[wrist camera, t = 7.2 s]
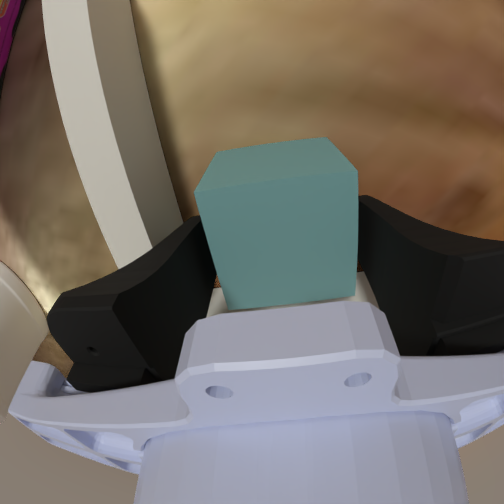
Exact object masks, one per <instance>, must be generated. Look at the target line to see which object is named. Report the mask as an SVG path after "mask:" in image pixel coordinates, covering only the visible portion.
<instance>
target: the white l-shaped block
mask: <svg viewBox="0 0 504 504" xmlns="http://www.w3.org/2000/svg"><path fill="white" fill-rule="evenodd" d="M42 10H43V20H44V29H45V37H46V44H47V50H48V57H49V62H50V68H51V73H52V78H53V83H54V87H55V92H56V96H57V100H58V104H59V108H60V112H61V116H62V120H63V124H64V127H65V131H66V134H67V138H68V141H69V144H70V148H71V151H72V154H73V157H74V160H75V163H76V166H77V169H78V172H79V175H80V178H81V180H82V183H83V186H84V189H85V191H86V194H87V197H88V199H89V202H90V205H91V207H92V210H93V212H94V215H95V217H96V220H97V222H98V224H99V227H100V229H101V231H102V234H103V236H104V238H105V241H106V243H107V245H108V247H109V250H110V252H111V254H112V256H113V258H114V260H115V263H116V265H117V267H118V269H120V268H122V267H124V266H126V265H128V264H129V263H131V262H133V261H134V260H136V259H137V258H139V257H140V256H142V255H143V254H145V253H146V252H148V251H149V250H151V249H152V248H153V247H154V246H156V245H157V244H158V243H160V242H161V241H162V240H163V239H165V238H166V237H167V236H168V235H170V234H171V233H172V232H173V231H174V230H176V229H177V228H178V227H179V226H181V225H182V224H183V220H182V217H181V213H180V210H179V207H178V203H177V200H176V196H175V193H174V190H173V186H172V183H171V179H170V176H169V172H168V169H167V165H166V161H165V158H164V154H163V150H162V146H161V143H160V139H159V135H158V131H157V127H156V123H155V119H154V115H153V111H152V107H151V103H150V99H149V94H148V90H147V86H146V81H145V77H144V72H143V68H142V63H141V58H140V53H139V48H138V43H137V38H136V33H135V28H134V22H133V17H132V11H131V5H130V0H42ZM337 301H355V302H369V303H371V304H372V305H374V306H375V307H377V308H378V309H379V306H378V303H377V301H376V298H375V295H374V293H373V291H372V289H371V286H370V284H369V282H368V280H367V277H366V275H365V273H364V271H362V272H357V274H356V290H355V296H349V297H342V298H335V299H327V300H319V301H311V302H303V303H295V304H286V305H277V306H267V307H257V308H247V309H236V310H228V307H227V304H226V301H225V298H224V295H223V291H222V288H213V292H212V296H211V300H210V304H209V309H208V313H207V317H211V316H215V315H218V314H222V313H235V312H247V311H258V310H268V309H278V308H288V307H297V306H306V305H314V304H322V303H330V302H337Z"/></svg>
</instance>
